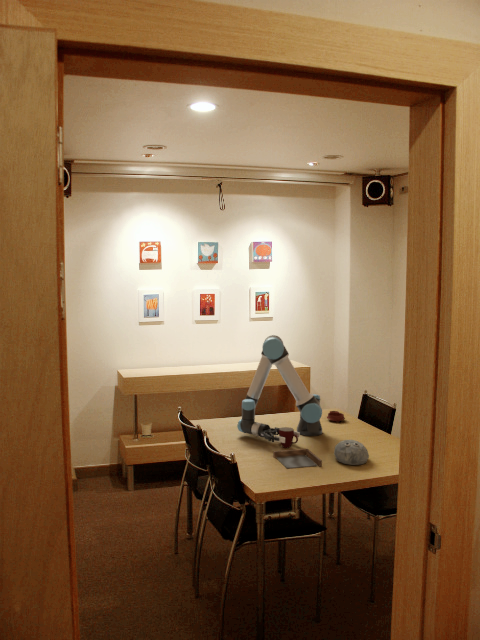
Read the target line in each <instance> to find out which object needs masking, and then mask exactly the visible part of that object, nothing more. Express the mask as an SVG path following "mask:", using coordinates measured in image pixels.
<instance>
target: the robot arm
mask: <svg viewBox="0 0 480 640" xmlns="http://www.w3.org/2000/svg"><path fill="white" fill-rule="evenodd" d="M289 354H290V353H289V351H288V350H287V348H286V346H285V345H284V341H283V339H282V338H281V337H280V336H278V335H274V334H273V335H272V334H271V335H269V336H267V337H266V338H265V339H264V341H263V342H262V351H261V358H260V361H259V363H258V366H257V368H256V370H255V373H254V376H253V378H252V381H251V383H250V386H249V388H248V390H247V393H246V396H245V399H242V401H241V418H240V419H239V420H238V421H237V423H238V424H237V426H236V427H237V430H238V431H239V432H240V433H243V434H248V435H253V436H255V437H260V438H263V439H265V440H267V441H268V442H271V443H274V442H279V443H280V442H282V443H285V438H284V437H280V436H279V428H280V427H276V426H275V427H270V425H269V424H268V423H267V424H266V423H263V422H259V421H258V422H257V421H255V419H256V418H255V416H256V408H257V404H258V402H259V398H260V397H261V394H262V391H263V389H264V386H265V384H266V382H267V379H268V378H269V374H270V371H271V369H272V367H273V366H275V368H276V369H277V371H278V372H279V374H280V376H281V377H282V379H283V381H284V382H285V384H286V386H287V388H288V390H289V391H290V393H291V394H292V396H293V397H294V400H295V401H296V402H295V406H296V408H297V410H298V411H299V421H298V423H297V427H296V430H294V434H295V435H297V437H298V438H300V437H301V436H300V435H302V436H306V437H307V436H309V437H314V436H320V435H322V434H323V427H322V424H321V421H320V420H321V418H322V415H323V409H322V407H321V396H320V395H319V394H316V393H310V392H309V390H308V388H307V387H306V384H304V382H303V380H302V378H301V377H300V375H299V374H298V371H297V370H296V368H295V367H294V365H293V363H292V362H291V360H290V358H289Z"/></svg>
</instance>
